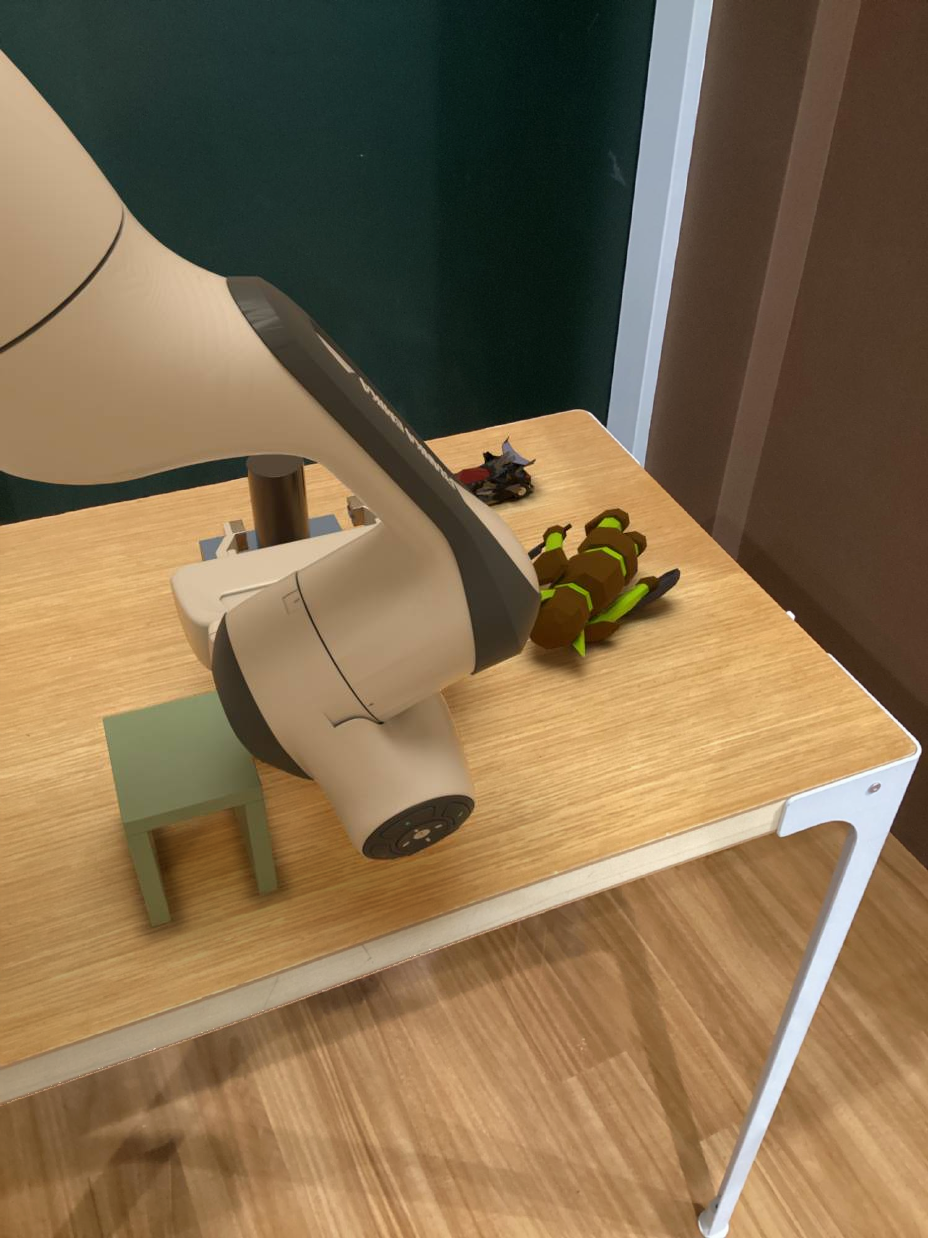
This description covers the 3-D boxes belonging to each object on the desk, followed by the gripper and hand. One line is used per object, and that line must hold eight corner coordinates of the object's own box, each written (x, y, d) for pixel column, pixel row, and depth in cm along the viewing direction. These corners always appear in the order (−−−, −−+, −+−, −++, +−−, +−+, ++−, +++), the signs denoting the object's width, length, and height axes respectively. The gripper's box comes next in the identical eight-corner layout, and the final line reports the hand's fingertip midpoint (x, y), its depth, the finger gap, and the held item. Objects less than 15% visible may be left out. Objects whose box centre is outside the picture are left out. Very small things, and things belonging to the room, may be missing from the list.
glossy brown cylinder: (266, 586, 87) (253, 481, 80) (254, 556, 90) (240, 452, 83) (319, 574, 88) (309, 470, 82) (305, 545, 91) (295, 442, 85)
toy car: (540, 496, 105) (543, 460, 102) (432, 529, 100) (432, 492, 98) (508, 467, 109) (510, 431, 106) (403, 497, 104) (402, 461, 102)
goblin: (498, 546, 98) (437, 629, 87) (618, 469, 90) (569, 549, 78) (566, 630, 101) (515, 722, 89) (689, 562, 92) (651, 654, 80)
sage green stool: (152, 927, 66) (122, 823, 60) (131, 821, 73) (101, 717, 66) (278, 889, 69) (262, 785, 62) (247, 790, 75) (229, 686, 69)
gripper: (493, 573, 71) (426, 453, 80) (186, 646, 66) (151, 509, 75) (489, 637, 76) (426, 517, 85) (201, 710, 71) (167, 574, 80)
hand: (295, 514), depth 80 cm, fingers open, 8 cm apart
